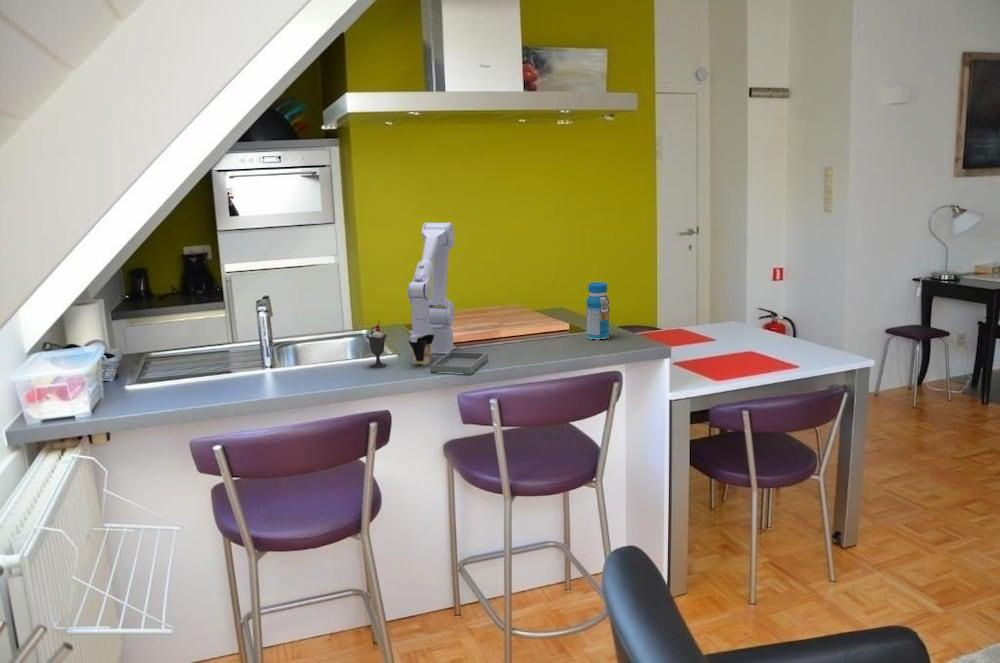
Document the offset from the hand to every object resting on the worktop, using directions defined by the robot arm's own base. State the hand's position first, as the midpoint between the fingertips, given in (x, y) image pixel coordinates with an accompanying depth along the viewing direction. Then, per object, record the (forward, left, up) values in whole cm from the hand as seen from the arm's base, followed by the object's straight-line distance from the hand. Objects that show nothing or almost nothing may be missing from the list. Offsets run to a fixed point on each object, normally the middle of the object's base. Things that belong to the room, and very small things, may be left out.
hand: (422, 358), depth 255 cm
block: (0, 0, -1) cm, 1 cm away
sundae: (+6, -13, -2) cm, 14 cm away
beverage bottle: (-45, +50, -2) cm, 67 cm away
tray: (+2, +14, -1) cm, 14 cm away
